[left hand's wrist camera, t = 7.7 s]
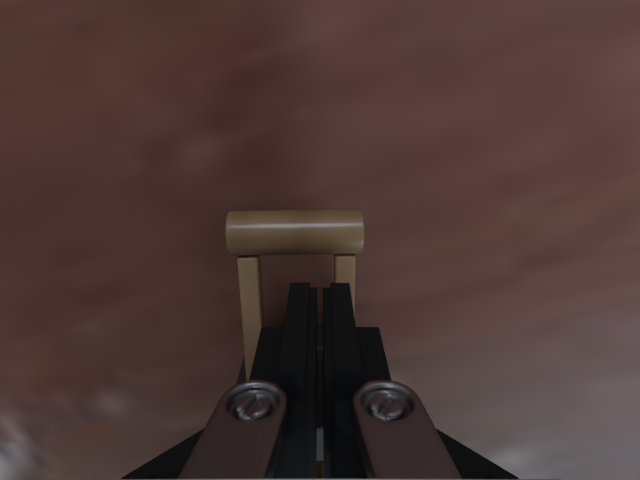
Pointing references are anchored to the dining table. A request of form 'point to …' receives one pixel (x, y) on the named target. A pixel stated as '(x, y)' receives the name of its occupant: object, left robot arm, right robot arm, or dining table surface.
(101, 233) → the dining table surface
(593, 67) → the dining table surface
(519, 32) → the dining table surface
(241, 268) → the wooden handle frame
